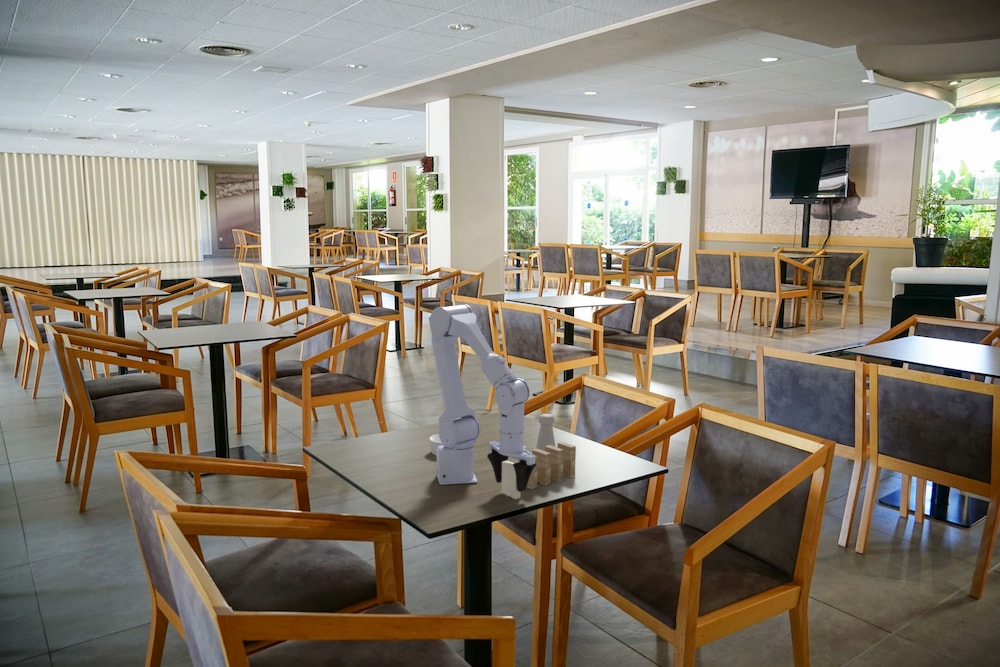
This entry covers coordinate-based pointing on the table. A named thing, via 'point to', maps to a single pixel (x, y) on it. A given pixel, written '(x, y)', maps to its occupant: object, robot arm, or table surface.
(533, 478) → the domino
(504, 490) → the front domino
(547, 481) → the domino
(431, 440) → the ramekin
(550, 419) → the salt shaker
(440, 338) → the robot arm
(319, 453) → the table surface
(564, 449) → the domino
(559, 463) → the domino
